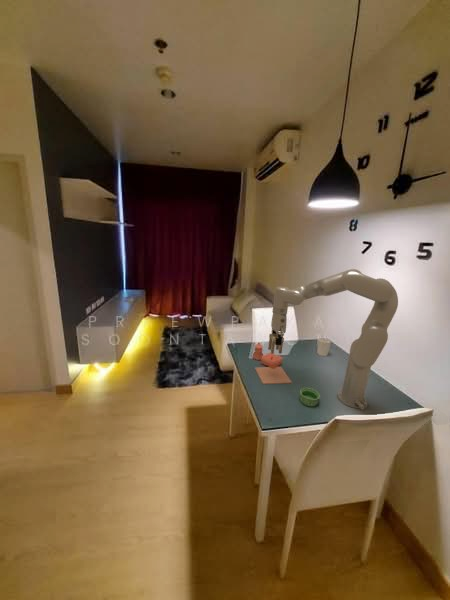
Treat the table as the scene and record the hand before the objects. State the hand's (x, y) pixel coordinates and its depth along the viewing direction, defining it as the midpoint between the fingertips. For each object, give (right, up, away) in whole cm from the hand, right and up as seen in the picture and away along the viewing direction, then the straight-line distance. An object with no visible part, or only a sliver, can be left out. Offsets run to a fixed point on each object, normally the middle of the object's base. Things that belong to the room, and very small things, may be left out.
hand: (275, 341), depth 134 cm
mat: (-1, -20, +5) cm, 20 cm away
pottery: (-2, -15, +20) cm, 26 cm away
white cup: (+39, -14, +35) cm, 54 cm away
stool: (0, -5, +1) cm, 6 cm away
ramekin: (+12, -26, -15) cm, 33 cm away
